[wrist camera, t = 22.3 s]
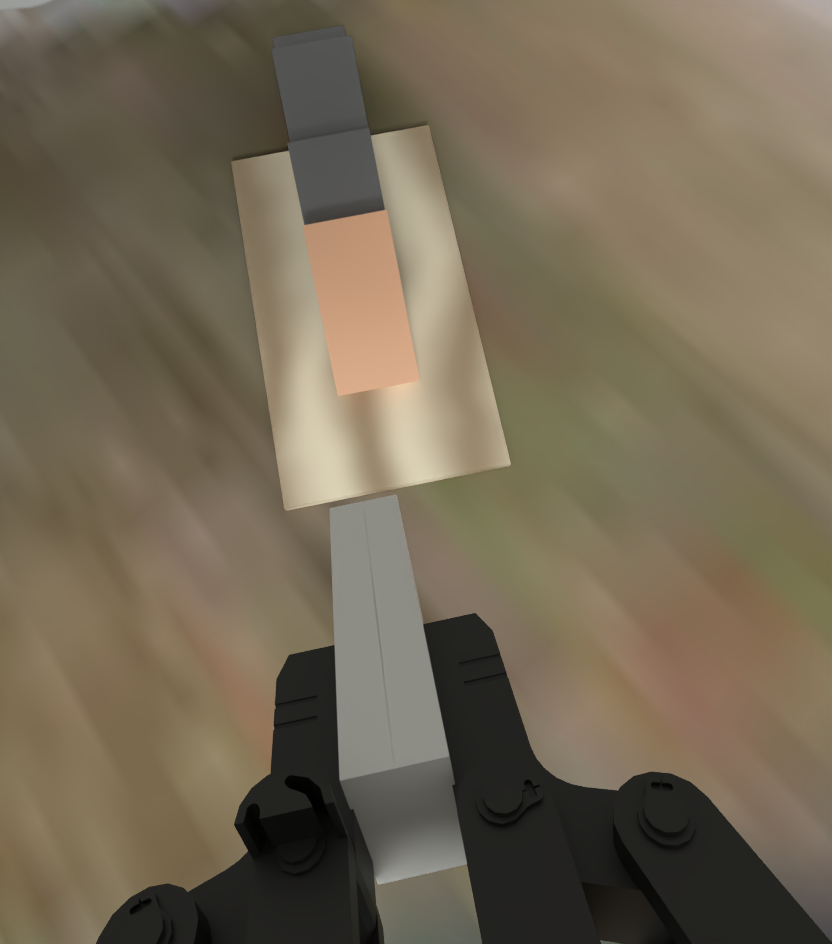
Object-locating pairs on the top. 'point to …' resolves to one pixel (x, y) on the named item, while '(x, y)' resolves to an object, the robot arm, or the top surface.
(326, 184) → the dark grey block
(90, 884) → the top surface
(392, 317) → the salmon orange block
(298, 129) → the grey rectangular slab
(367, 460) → the birch board
